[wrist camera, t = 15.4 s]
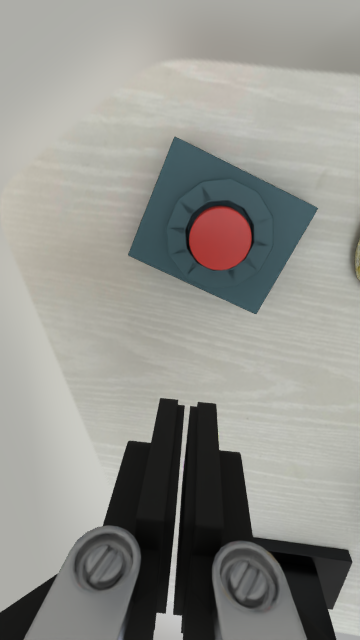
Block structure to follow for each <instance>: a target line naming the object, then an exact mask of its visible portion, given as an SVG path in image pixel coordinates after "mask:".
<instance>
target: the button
mask: <svg viewBox="0 0 360 640" xmlns="http://www.w3.org/2000/svg"><path fill="white" fill-rule="evenodd" d="M251 241H252V235H251V229H250V226H249V224H248V222H247V220H246V219H245V218H244V217H243V216H242V215H241V214H240V213H239V212H238V211H237V210H235V209H233V208H231V207H228V206H213V207H210V208H208V209H206V210H204V211H203V212H202V213H200V214H199V216H198V217H197V218H196V219H195V221H194V223H193V225H192V228H191V231H190V236H189V244H190V249H191V251H192V254H193V255H194V257H195V258H196V260H197V261H198V262H199V263H200V264H202V265H203V266H205V267H207V268H209V269H213V270H226V269H230V268H232V267H234V266H236V265H238V264H239V263H240V262H241V261H242V260H243V259H244V258H245V257H246V255H247V254H248V252H249V249H250V246H251Z"/></svg>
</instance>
